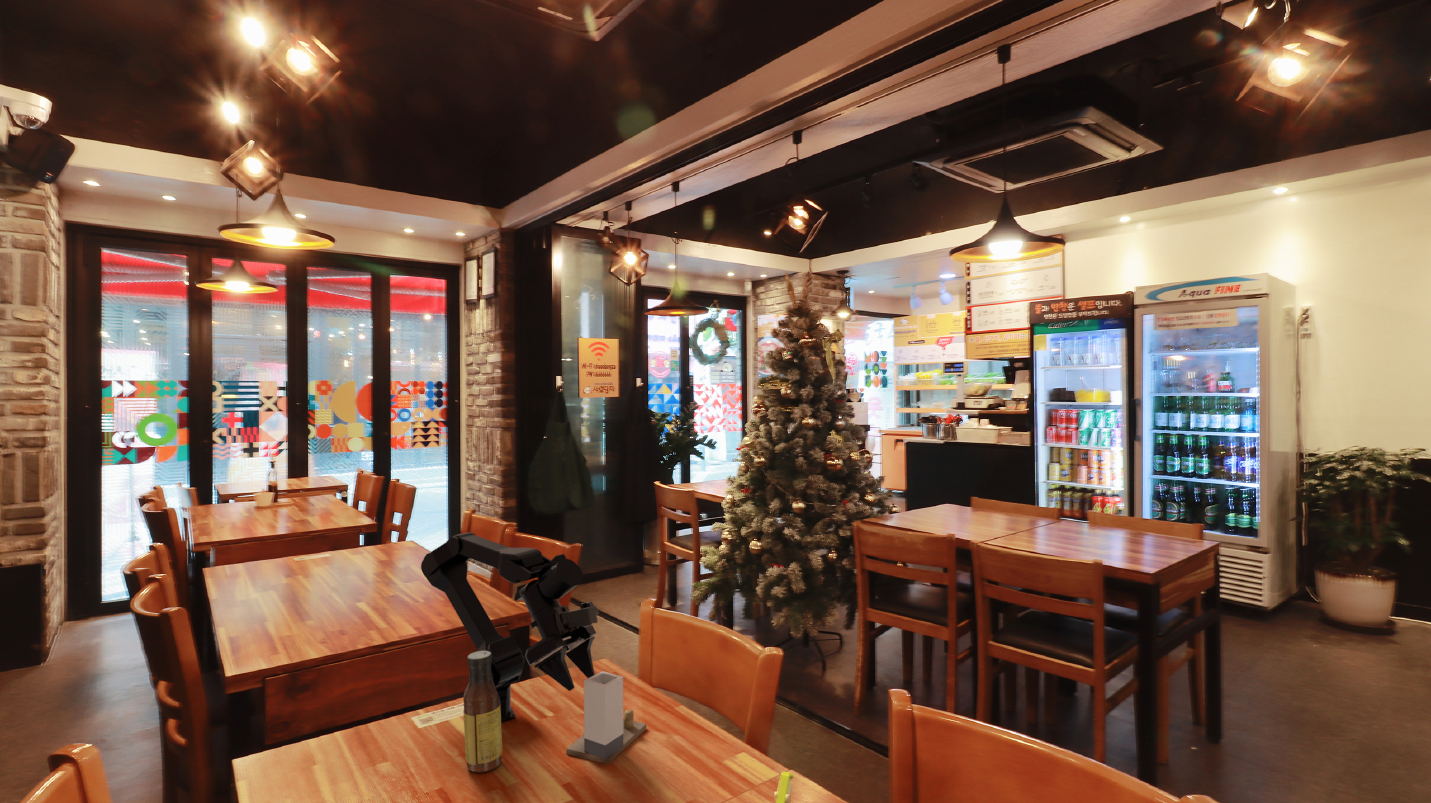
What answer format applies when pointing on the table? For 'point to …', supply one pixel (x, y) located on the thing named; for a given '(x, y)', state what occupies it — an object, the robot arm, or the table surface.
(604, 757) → the grey sleeve
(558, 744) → the table surface
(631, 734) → the pin board
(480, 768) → the sauce bottle
